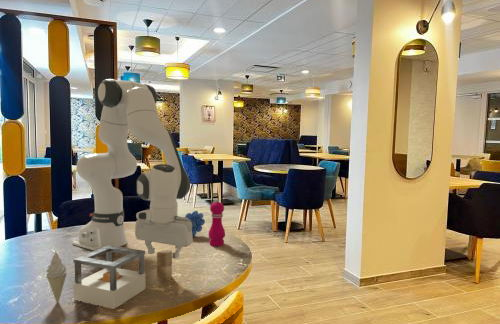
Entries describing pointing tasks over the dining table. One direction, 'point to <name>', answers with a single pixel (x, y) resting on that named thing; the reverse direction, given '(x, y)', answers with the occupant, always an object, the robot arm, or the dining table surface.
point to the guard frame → (108, 262)
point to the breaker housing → (100, 292)
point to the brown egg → (107, 276)
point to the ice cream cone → (56, 276)
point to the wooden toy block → (164, 265)
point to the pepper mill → (216, 224)
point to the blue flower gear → (196, 221)
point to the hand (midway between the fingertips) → (163, 255)
